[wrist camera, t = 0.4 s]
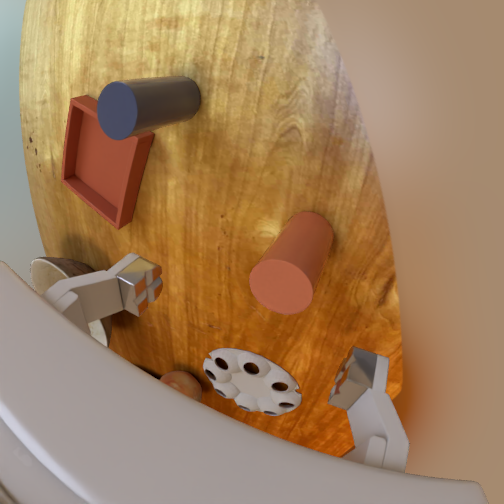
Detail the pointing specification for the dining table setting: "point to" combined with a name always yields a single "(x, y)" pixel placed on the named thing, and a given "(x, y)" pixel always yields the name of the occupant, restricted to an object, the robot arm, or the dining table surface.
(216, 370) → the grey disc with holes
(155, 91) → the slate-blue canister
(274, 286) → the terracotta canister
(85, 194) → the rust tray
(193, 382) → the onion
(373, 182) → the dining table surface
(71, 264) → the bowl
